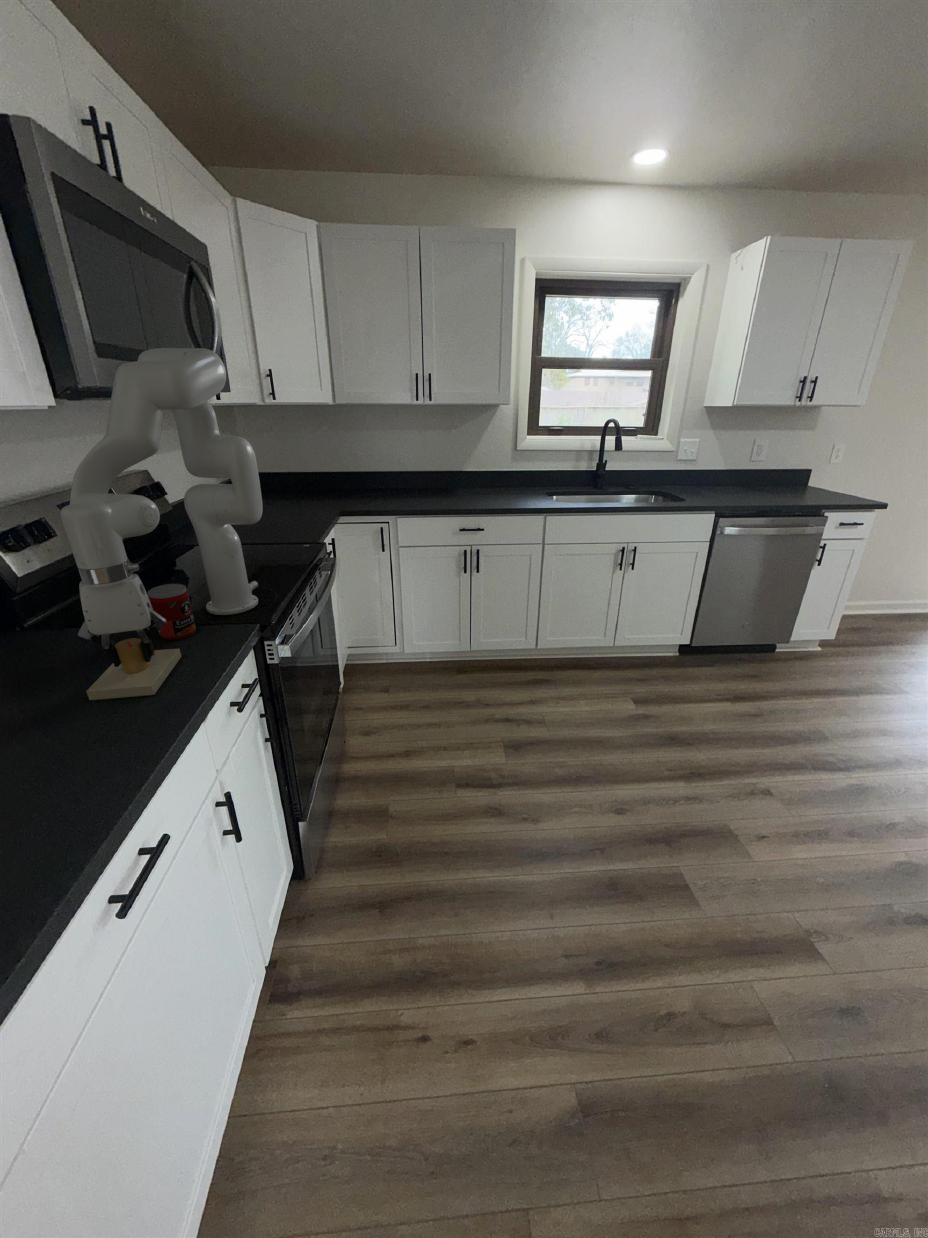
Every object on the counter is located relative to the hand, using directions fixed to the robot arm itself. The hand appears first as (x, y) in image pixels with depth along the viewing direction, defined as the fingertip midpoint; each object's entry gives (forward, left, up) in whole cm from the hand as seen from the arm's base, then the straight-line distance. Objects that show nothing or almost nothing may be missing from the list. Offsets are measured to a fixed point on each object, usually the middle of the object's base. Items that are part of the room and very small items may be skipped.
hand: (133, 660), depth 97 cm
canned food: (-19, -6, -4) cm, 20 cm away
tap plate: (0, 0, -4) cm, 4 cm away
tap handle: (0, 0, -2) cm, 2 cm away
